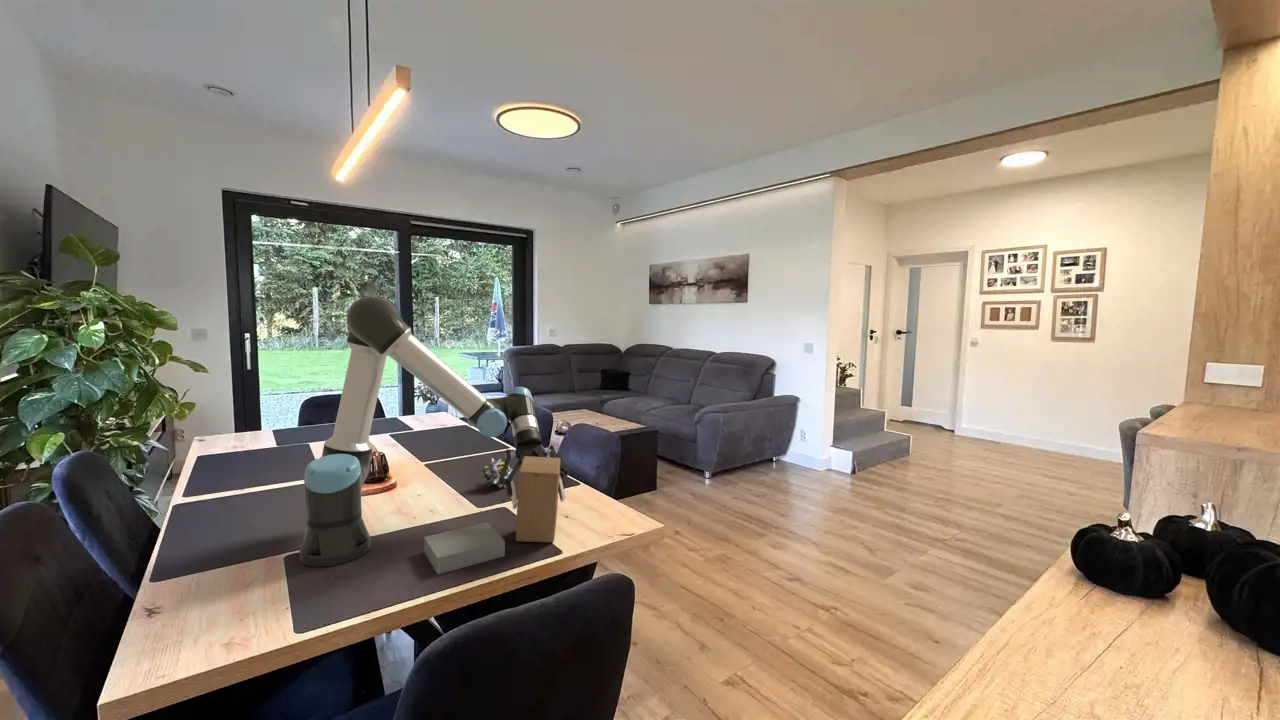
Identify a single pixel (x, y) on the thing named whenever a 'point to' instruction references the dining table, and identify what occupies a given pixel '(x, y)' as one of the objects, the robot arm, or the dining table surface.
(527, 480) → the wooden block
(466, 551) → the plinth
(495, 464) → the passion flower
